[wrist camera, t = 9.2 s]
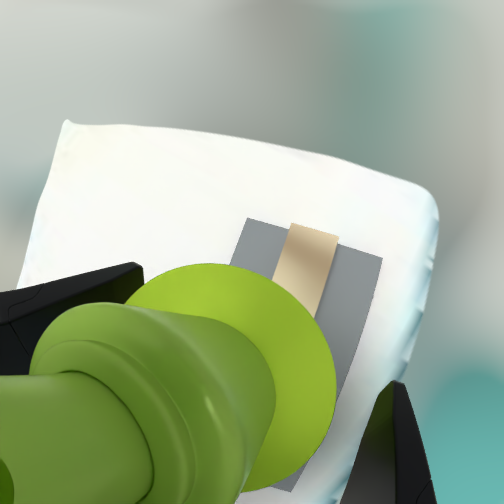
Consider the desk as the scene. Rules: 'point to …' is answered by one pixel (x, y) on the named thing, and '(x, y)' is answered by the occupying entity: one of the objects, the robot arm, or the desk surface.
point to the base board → (332, 299)
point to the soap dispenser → (169, 395)
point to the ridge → (305, 264)
